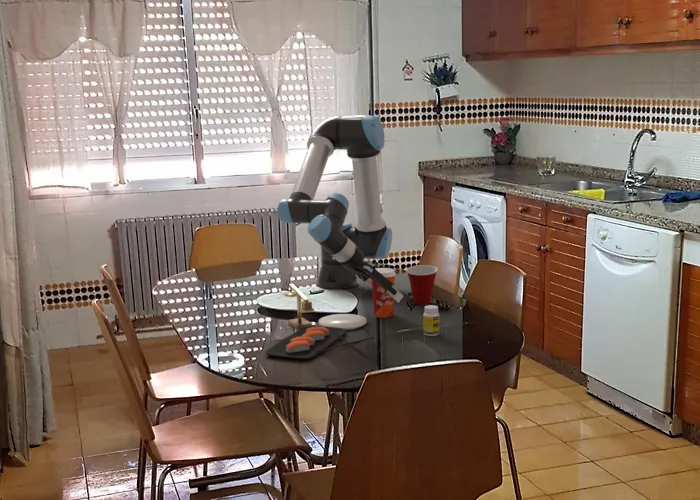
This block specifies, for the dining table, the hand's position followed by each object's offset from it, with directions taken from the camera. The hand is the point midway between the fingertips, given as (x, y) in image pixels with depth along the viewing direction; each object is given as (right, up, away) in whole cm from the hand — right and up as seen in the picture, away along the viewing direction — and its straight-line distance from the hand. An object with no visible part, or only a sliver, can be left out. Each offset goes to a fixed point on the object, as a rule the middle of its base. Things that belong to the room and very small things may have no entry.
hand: (390, 295), depth 260 cm
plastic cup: (+12, -4, +15) cm, 19 cm away
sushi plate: (-18, -14, -31) cm, 39 cm away
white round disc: (-15, -9, -9) cm, 20 cm away
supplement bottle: (+11, -11, -21) cm, 26 cm away
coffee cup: (-2, -7, 0) cm, 7 cm away
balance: (-29, -9, -9) cm, 31 cm away
